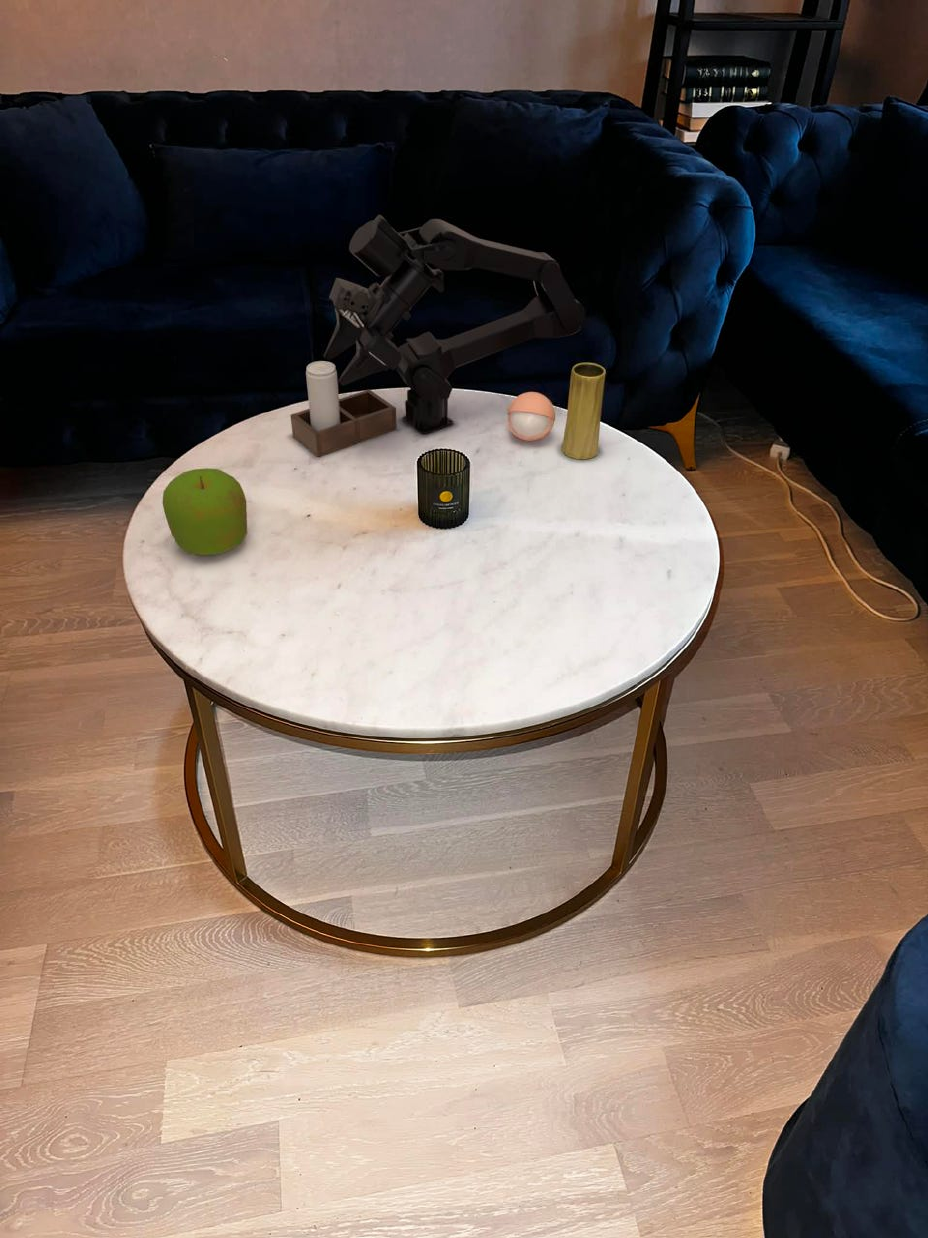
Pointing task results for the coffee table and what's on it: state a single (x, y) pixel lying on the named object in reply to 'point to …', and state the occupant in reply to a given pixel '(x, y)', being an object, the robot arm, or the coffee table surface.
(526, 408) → the toy ball
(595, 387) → the vase
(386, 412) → the brown wooden divided box
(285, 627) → the coffee table surface
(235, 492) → the apple
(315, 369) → the beverage can
